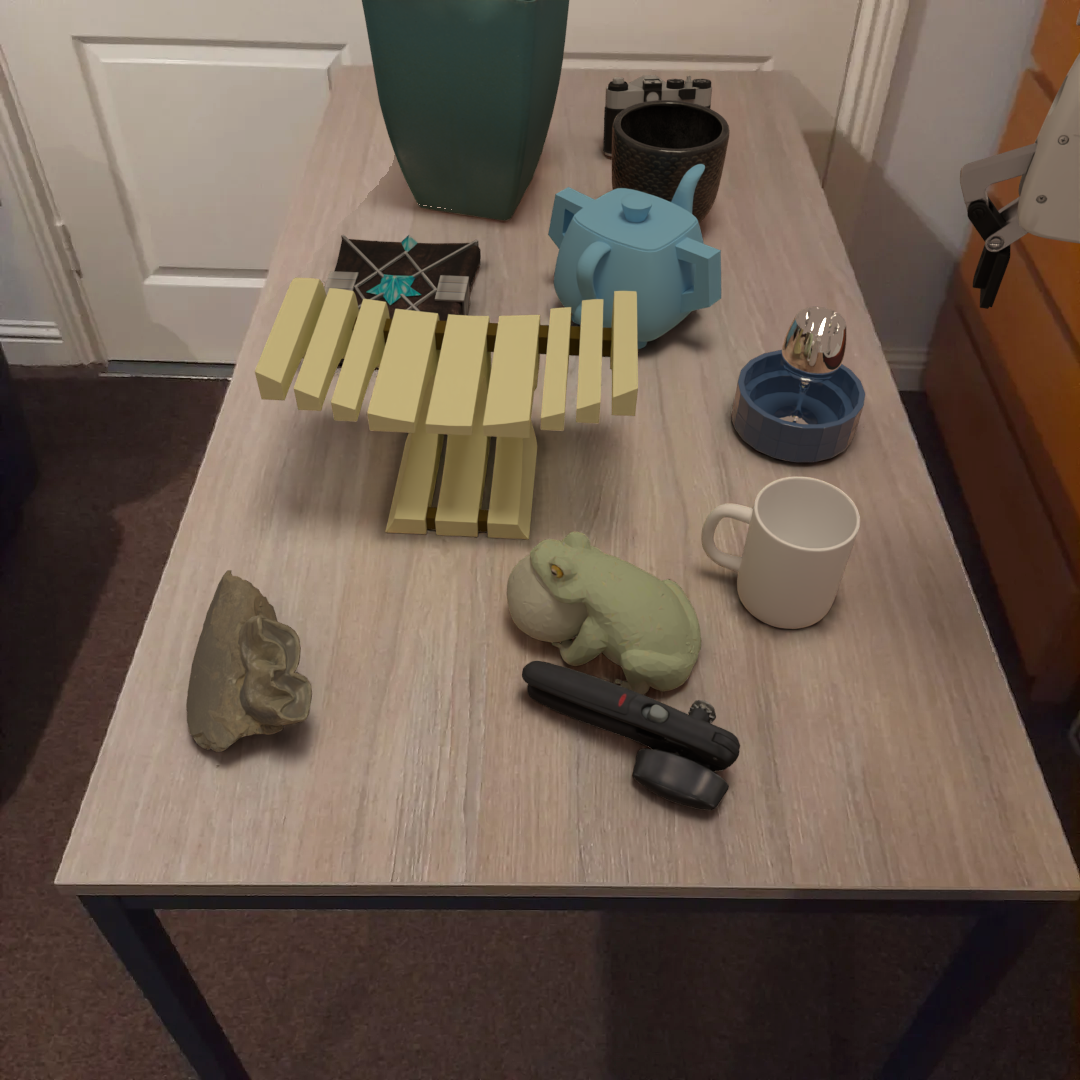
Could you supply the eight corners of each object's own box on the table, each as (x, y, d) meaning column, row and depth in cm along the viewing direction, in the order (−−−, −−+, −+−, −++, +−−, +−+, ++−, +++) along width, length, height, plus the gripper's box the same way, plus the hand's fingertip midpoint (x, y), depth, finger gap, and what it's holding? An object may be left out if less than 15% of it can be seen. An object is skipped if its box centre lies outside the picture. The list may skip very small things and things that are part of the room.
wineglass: (754, 418, 102) (776, 318, 93) (792, 395, 104) (816, 296, 95) (798, 447, 99) (825, 347, 90) (836, 423, 101) (865, 323, 92)
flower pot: (569, 168, 138) (577, -61, 118) (533, 242, 125) (534, -1, 104) (432, 150, 141) (415, -76, 121) (382, 221, 128) (354, -19, 108)
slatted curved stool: (622, 428, 101) (636, 274, 88) (622, 543, 90) (637, 388, 77) (328, 415, 102) (299, 260, 89) (293, 527, 91) (254, 371, 78)
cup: (824, 643, 83) (852, 562, 76) (683, 604, 86) (697, 522, 78) (838, 572, 88) (866, 490, 81) (705, 538, 91) (721, 455, 84)
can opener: (748, 757, 76) (761, 716, 71) (709, 830, 72) (720, 791, 67) (549, 656, 82) (550, 613, 78) (502, 717, 78) (500, 675, 74)
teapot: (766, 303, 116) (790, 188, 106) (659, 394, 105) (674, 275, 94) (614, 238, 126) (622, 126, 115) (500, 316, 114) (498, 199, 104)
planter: (737, 223, 129) (753, 124, 119) (669, 265, 122) (681, 164, 112) (652, 185, 135) (662, 89, 126) (584, 223, 128) (588, 124, 119)
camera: (694, 135, 148) (700, 62, 142) (710, 156, 139) (717, 78, 133) (596, 138, 147) (598, 64, 141) (605, 159, 139) (608, 81, 133)
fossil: (344, 715, 81) (322, 709, 71) (222, 772, 79) (182, 774, 70) (277, 558, 83) (247, 531, 73) (158, 611, 82) (111, 591, 72)
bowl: (858, 401, 104) (870, 362, 101) (846, 478, 97) (859, 439, 93) (741, 378, 107) (749, 340, 103) (721, 452, 99) (728, 413, 95)
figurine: (534, 565, 89) (534, 484, 81) (713, 626, 84) (730, 546, 77) (483, 650, 82) (479, 570, 75) (674, 720, 78) (689, 643, 70)
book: (460, 376, 107) (457, 337, 103) (303, 368, 107) (295, 330, 104) (481, 265, 121) (480, 228, 118) (343, 259, 122) (338, 222, 118)
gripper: (1008, 39, 52) (921, 319, 65) (1385, 78, 48) (1216, 367, 61) (1009, -8, 57) (928, 260, 70) (1351, 23, 53) (1201, 301, 66)
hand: (1062, 309), depth 65 cm, fingers open, 9 cm apart
